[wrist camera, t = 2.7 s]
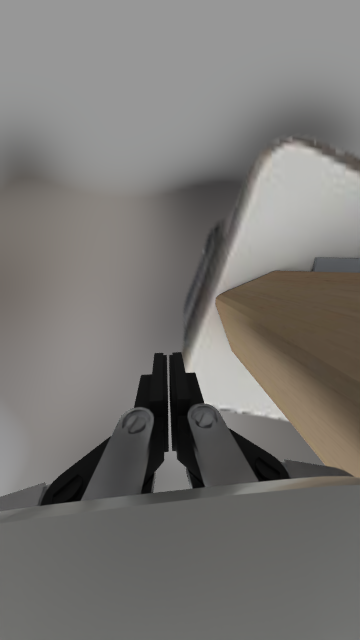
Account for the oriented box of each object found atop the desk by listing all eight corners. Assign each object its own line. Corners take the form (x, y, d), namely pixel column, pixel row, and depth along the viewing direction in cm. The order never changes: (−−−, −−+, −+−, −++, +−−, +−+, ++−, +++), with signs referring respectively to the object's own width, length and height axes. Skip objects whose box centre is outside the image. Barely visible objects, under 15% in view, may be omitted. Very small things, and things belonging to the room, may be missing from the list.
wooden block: (290, 328, 27) (607, 482, 8) (231, 353, 27) (393, 557, 8) (277, 267, 24) (755, 266, 4) (211, 296, 24) (395, 405, 5)
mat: (402, 259, 25) (406, 259, 24) (366, 355, 29) (368, 357, 29) (315, 257, 24) (317, 257, 23) (291, 358, 28) (293, 360, 28)
